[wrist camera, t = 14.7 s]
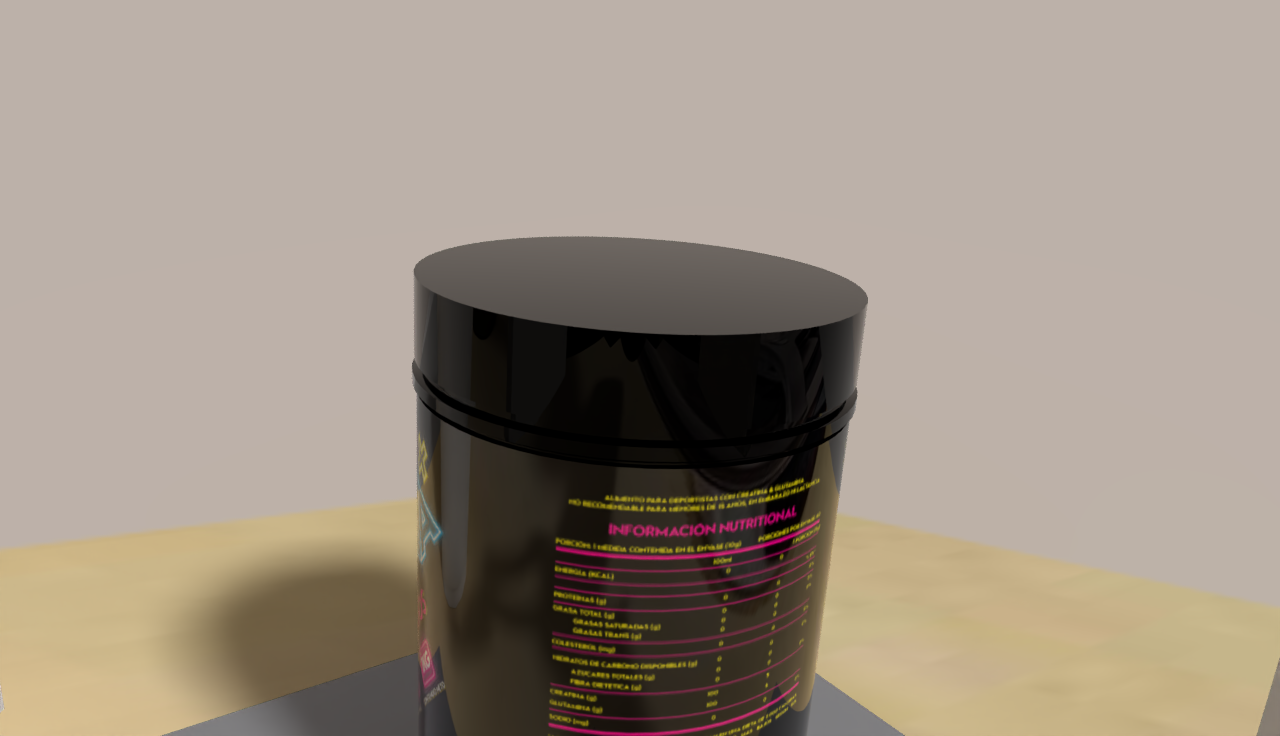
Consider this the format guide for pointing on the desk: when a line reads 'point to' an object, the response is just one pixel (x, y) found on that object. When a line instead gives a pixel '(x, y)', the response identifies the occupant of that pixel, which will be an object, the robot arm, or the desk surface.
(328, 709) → the mat
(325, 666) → the desk surface
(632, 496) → the supplement container
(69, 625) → the desk surface
